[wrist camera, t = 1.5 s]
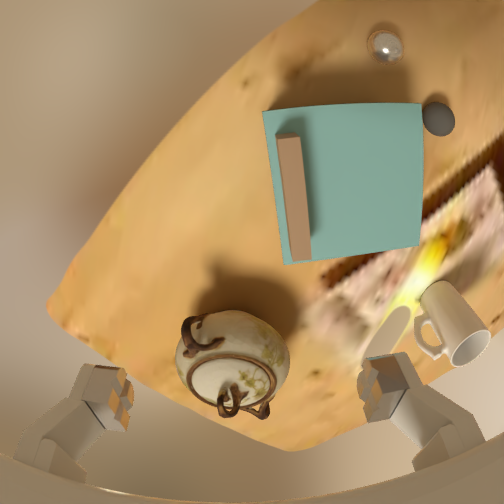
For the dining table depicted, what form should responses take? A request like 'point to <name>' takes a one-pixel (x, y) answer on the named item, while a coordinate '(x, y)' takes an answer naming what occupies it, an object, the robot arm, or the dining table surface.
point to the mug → (451, 325)
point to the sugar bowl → (232, 361)
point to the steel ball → (385, 47)
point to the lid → (346, 178)
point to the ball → (438, 119)
